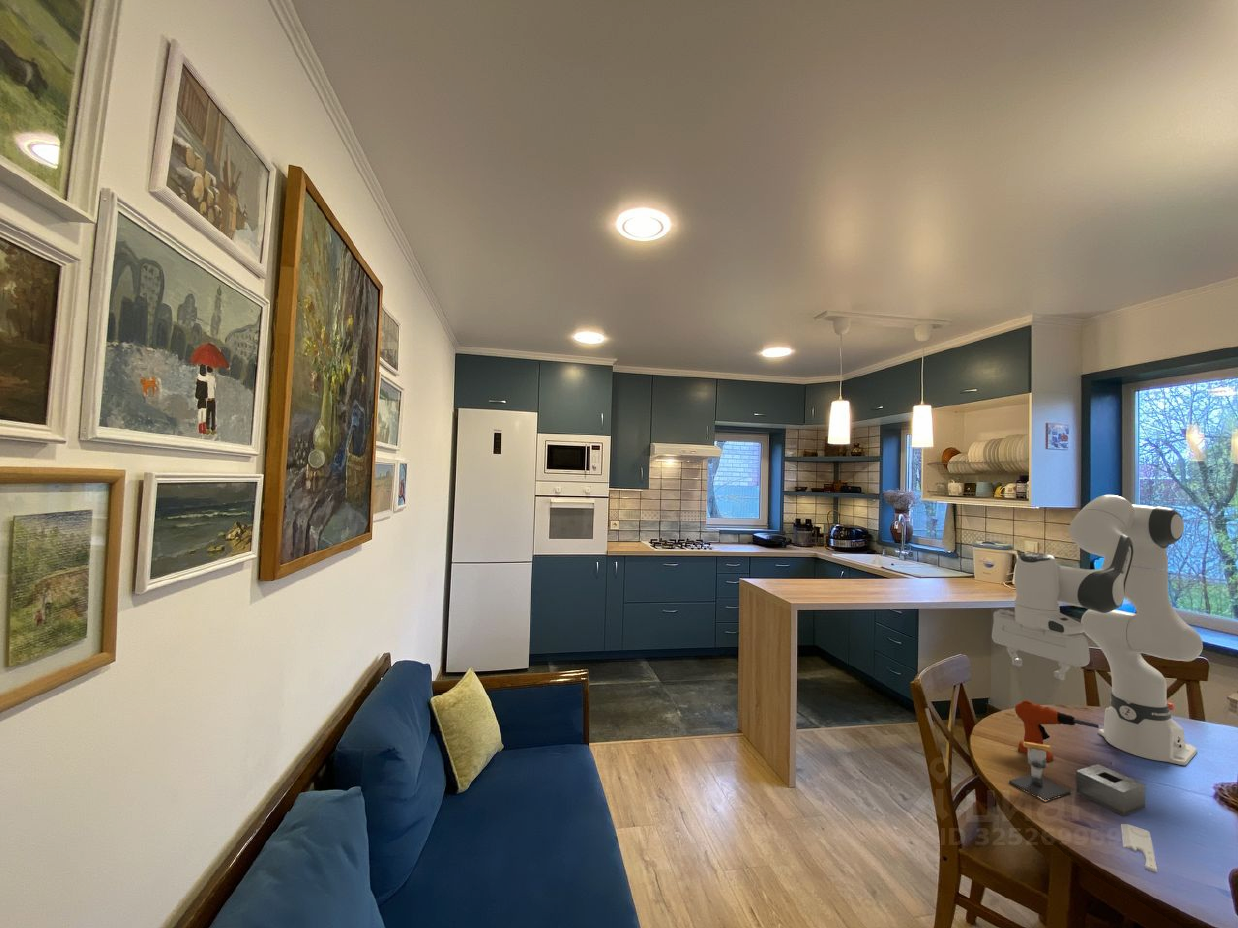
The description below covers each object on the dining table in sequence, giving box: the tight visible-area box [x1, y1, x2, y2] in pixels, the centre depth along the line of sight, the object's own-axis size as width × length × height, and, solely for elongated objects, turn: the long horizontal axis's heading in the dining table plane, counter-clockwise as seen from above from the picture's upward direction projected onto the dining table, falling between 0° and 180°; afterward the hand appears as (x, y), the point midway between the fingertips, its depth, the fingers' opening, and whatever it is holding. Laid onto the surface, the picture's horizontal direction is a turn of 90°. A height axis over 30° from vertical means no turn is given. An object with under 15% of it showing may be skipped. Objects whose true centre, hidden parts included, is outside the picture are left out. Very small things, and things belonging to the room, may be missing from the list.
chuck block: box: [1075, 763, 1146, 817], centre depth 121 cm, size 9×9×6 cm
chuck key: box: [1022, 740, 1052, 787], centre depth 126 cm, size 4×6×10 cm, turn 74°
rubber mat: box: [1008, 773, 1071, 800], centre depth 125 cm, size 10×8×1 cm
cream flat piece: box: [1120, 823, 1158, 873], centre depth 106 cm, size 5×15×1 cm, turn 136°
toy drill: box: [1014, 699, 1100, 762], centre depth 137 cm, size 5×19×15 cm, turn 34°
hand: (1037, 671), depth 126 cm, fingers open, 8 cm apart
